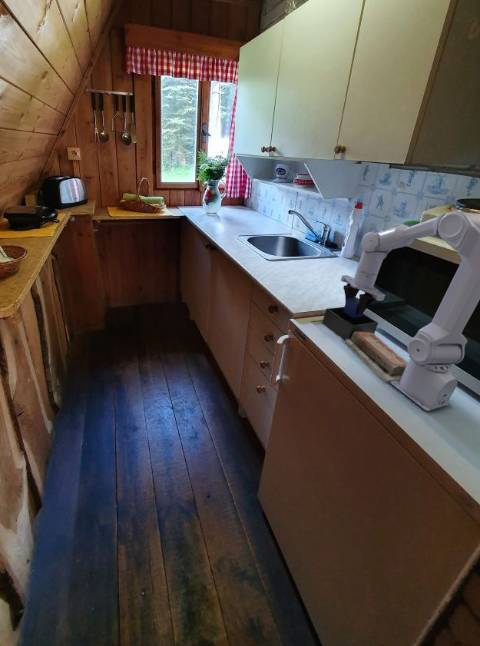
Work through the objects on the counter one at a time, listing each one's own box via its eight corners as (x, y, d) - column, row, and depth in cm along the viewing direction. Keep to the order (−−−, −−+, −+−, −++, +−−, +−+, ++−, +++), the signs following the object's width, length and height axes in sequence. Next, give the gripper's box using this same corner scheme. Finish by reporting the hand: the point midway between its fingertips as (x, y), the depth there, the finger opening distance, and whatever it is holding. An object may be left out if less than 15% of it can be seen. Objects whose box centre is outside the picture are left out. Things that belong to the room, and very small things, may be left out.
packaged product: (347, 329, 93) (376, 329, 94) (342, 342, 94) (370, 342, 96) (391, 369, 76) (425, 369, 78) (384, 384, 78) (417, 384, 80)
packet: (361, 316, 98) (366, 303, 96) (352, 317, 96) (357, 304, 94) (351, 310, 101) (356, 297, 99) (342, 311, 100) (347, 298, 98)
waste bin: (372, 337, 98) (378, 322, 96) (347, 341, 94) (352, 326, 92) (346, 319, 108) (351, 305, 106) (322, 322, 104) (326, 308, 102)
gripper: (339, 263, 98) (327, 300, 103) (378, 281, 86) (363, 323, 91) (355, 262, 100) (343, 299, 106) (395, 280, 88) (379, 321, 93)
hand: (353, 310), depth 98 cm, fingers closed on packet, 4 cm apart
